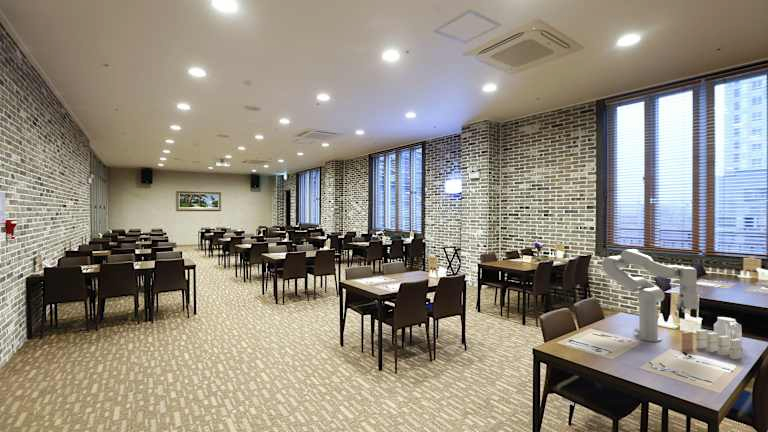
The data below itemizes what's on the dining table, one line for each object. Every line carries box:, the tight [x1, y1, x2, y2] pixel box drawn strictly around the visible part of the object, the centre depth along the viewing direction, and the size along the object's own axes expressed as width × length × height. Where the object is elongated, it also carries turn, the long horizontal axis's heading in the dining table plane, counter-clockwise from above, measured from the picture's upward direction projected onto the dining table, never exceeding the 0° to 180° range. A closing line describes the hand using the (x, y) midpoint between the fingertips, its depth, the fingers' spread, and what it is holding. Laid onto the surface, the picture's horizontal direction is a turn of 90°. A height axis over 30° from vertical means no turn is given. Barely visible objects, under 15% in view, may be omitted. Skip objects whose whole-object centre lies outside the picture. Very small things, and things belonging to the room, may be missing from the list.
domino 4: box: [717, 335, 730, 356], centre depth 204 cm, size 2×6×10 cm, turn 106°
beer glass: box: [725, 322, 743, 351], centre depth 211 cm, size 7×7×15 cm
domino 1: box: [681, 330, 694, 351], centre depth 211 cm, size 2×6×10 cm, turn 106°
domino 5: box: [729, 338, 742, 360], centre depth 198 cm, size 2×6×10 cm, turn 106°
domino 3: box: [706, 332, 718, 353], centre depth 209 cm, size 2×6×10 cm, turn 106°
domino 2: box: [695, 329, 708, 349], centre depth 214 cm, size 2×6×10 cm, turn 106°
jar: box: [713, 316, 737, 336], centre depth 221 cm, size 12×10×15 cm
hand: (687, 317), depth 212 cm, fingers open, 9 cm apart
